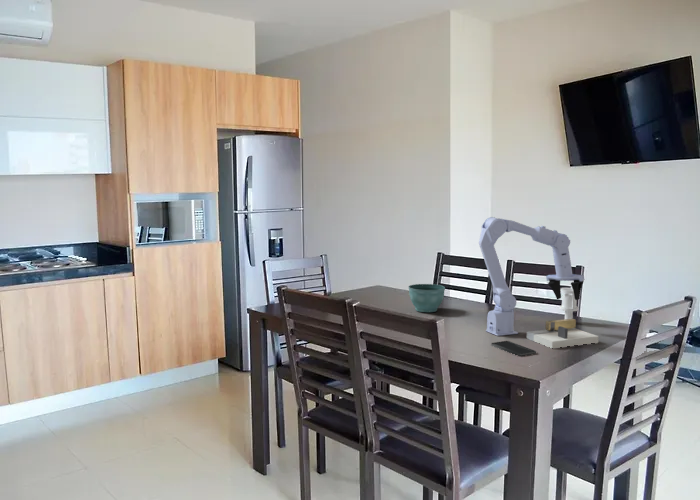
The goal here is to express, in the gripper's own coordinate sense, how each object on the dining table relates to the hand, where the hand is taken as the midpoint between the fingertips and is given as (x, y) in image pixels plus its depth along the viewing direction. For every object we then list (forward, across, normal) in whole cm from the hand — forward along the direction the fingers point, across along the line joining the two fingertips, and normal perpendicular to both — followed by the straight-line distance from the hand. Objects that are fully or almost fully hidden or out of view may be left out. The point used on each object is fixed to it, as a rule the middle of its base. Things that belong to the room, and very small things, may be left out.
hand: (568, 299), depth 218 cm
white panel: (+11, -4, +15) cm, 19 cm away
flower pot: (+4, +61, +15) cm, 63 cm away
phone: (+8, +1, +37) cm, 38 cm away
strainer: (+14, +9, -12) cm, 20 cm away
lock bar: (+9, -1, +9) cm, 13 cm away
